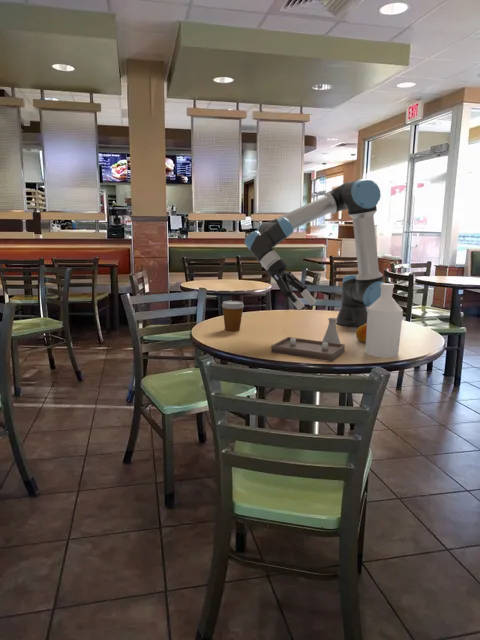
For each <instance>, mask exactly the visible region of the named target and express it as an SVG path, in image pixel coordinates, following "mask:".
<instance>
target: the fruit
mask: <svg viewBox="0 0 480 640" xmlns="http://www.w3.org/2000/svg"><path fill="white" fill-rule="evenodd" d="M366 331H367V323H365V324H364V325H362V326H360V327H357V329H356V330H355V336H356V338H357V340H358V341H359V342H361V343H364V344H366Z"/></svg>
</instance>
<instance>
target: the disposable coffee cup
mask: <svg viewBox="0 0 480 640" xmlns="http://www.w3.org/2000/svg"><path fill="white" fill-rule="evenodd" d="M221 307H222V312H223V313H222V314H223V322H224V324H223V325H224V331H226V332H239V331H241V325H242V323H241V322H242V317H243V316H242V315H243V310H244V307H245V305H244V302H243V301H239V300H225V301H222V304H221Z"/></svg>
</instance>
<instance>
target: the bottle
mask: <svg viewBox="0 0 480 640" xmlns="http://www.w3.org/2000/svg"><path fill="white" fill-rule="evenodd" d="M380 287H381V296H380V297H379V298H378V299H377V300H376V301H375V302H374V303H373V304H372V305H371V306H369V307H367V313H368V314H367V331H366V343H365V349H364V350H365V351H364V352H365V354H366V355H369V356H372V357H376V358H383V359H384V358H385V359H389V358H390V359H392V358H397V357H398V356H399V351H400V350H399V349H400V342H401V331H402V321H403V315H404V310H403V308H402V307H401V306H400V305H399V304H398V303H397V302H396V300H395V299H394V297H393V289H394V288H395V284H394V283H387V282H385V283H381V285H380Z"/></svg>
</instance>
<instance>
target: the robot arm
mask: <svg viewBox="0 0 480 640" xmlns="http://www.w3.org/2000/svg"><path fill="white" fill-rule="evenodd" d="M380 199H381V189H380V187H379V185H378V184H377V183H376V182H375V181H374V180H372V179H366V178H362V179H357V180H352V181H347V182H344V183H342V184H341V185H338V186H337V187H335V188H333V189H332V190H330V191H327V192H325V193H324V195H323V196H322V197H320V198H317V199H316V200H314V201H311V202H308V203H307V204H304V205H302V206H300V207H298V208H296V209H293V210H292V211H289V212H287V213H285V214H283V215H281V216H278V217H277V218H274V219H272V220H270V221H268V222H264V223H261V224H260V225H258V226H257V229H256V230H254V231H252V232H250V233H249V234H248V235H247V236H246V237H245V238H244V244H245V246H246V247H247V249H248V250H249V252H250V253H251V254H252V255H253V256H254V257H255V258H256V260H257V261H258V263H260V264H261V268H264V270H266V272H267V273H268V274H269V276H270V277H271V278H273V280H274V281H275V283H276V285H277V286H278V288H279V290H280V292H281V294H282V296H283V297H284V299H289V300H290V302H291V303H292V304H293V305H294V306H295V308H296V309H297V310H298V311H300V310H302V309H303V308H304V307H305V304H304V303H303V301H301V299H300V298H299V297H298V296H297V295H296V294H295V293H294V292H293V291H292V289H291V287H293V289H295V290H297V291H298V292H299V293H300V295H301V296H302V297H303V298H304V299H305V301H306V302H307V303H308V304H309V306H311V307H312V306H313V305H314V304H315V303H316V301H317V300H316V299H315V298H314V296H312V294H310V292H309V291H308V290H307V289H308V286H307V285H305V283H303V282H302V281H301V280H300V279H299V278H298V277H297V276H295V275H294V273H292V271H290V270H289V271H288V272H287V270H286V269H287V268H288V266H287V263H285V262H284V260H283V259H281V256H280V255H279V254H278V253H277V252H276V250H275V249H274V247H276V246H278V245H279V244H280V243H282V242H283V241H285V240H286V239H287V238H289V237H290V236H291V235H292V234H293V233H294V230H295V229H297V228H298V229H299V228H301V227H303V226H304V225H306V224H309V223H311V222H313V221H316V220H317V219H320V218H321V217H324V216H326V215H328V214H333V215H334V214H336V213H338V212H342V211H345V210H347V214H348V216H349V217H350V218H351V219H352V225H353V234H354V242H355V243H354V244H355V253H356V254H355V255H356V261H357V270H358V272H357V273H358V274H350V275H348V274H347V275H343V277H342V283H341V286H342V287H341V289H342V290H341V305H340V308H339V312H338V314H337V317H336V319H337V320H336V325H340V326H345V327H355V328H359V327H360V326H362V325H364V324H365V323H367V314H368V307H369V306H371V305H372V304H373V303H374V302H375V301H376V300H377V299H378V298H379V297H380V296H381V287H380V285H381V283H386V282H384V274H383V273H382V272H381V271H380V268H379V259H378V258H379V256H378V248H377V237H376V236H377V235H376V229H375V228H376V227H375V220H374V219H375V217H374V216H375V213H376V212H377V205H378V203H379V201H380Z"/></svg>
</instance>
